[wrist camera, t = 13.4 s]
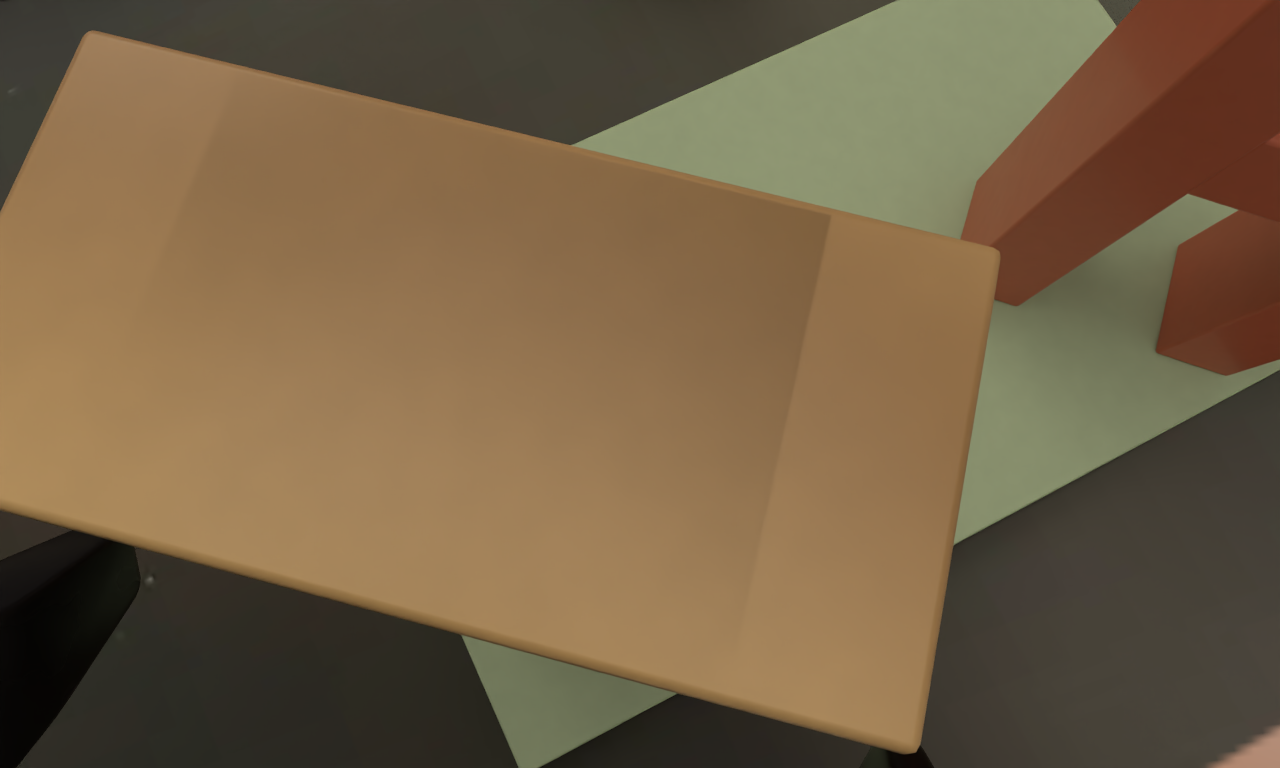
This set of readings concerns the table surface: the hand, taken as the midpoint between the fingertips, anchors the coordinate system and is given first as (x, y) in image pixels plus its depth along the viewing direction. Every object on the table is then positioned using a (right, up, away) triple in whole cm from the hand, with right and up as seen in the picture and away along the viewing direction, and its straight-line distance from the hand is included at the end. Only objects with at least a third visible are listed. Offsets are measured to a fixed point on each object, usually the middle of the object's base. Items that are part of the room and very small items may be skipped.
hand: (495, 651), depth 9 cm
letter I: (0, 0, +9) cm, 9 cm away
